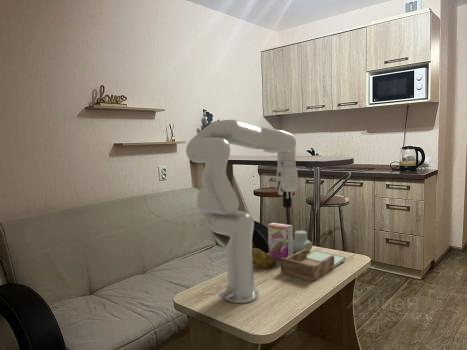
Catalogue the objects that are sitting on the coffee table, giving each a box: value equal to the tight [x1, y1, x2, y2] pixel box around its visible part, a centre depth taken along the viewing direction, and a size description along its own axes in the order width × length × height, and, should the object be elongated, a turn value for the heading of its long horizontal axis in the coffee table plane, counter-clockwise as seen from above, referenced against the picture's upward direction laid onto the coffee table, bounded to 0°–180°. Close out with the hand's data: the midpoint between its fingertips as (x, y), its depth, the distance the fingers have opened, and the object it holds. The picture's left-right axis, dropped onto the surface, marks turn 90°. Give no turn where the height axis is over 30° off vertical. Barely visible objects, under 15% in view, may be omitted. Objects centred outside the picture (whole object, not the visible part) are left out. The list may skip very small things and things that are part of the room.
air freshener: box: [293, 230, 313, 253], centre depth 171 cm, size 11×8×10 cm
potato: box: [252, 247, 277, 269], centre depth 154 cm, size 8×13×8 cm, turn 49°
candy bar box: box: [267, 222, 294, 261], centre depth 162 cm, size 11×5×16 cm, turn 50°
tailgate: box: [307, 250, 346, 268], centre depth 157 cm, size 1×15×10 cm
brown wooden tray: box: [279, 249, 335, 283], centre depth 147 cm, size 18×15×6 cm
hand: (287, 207), depth 147 cm, fingers closed
